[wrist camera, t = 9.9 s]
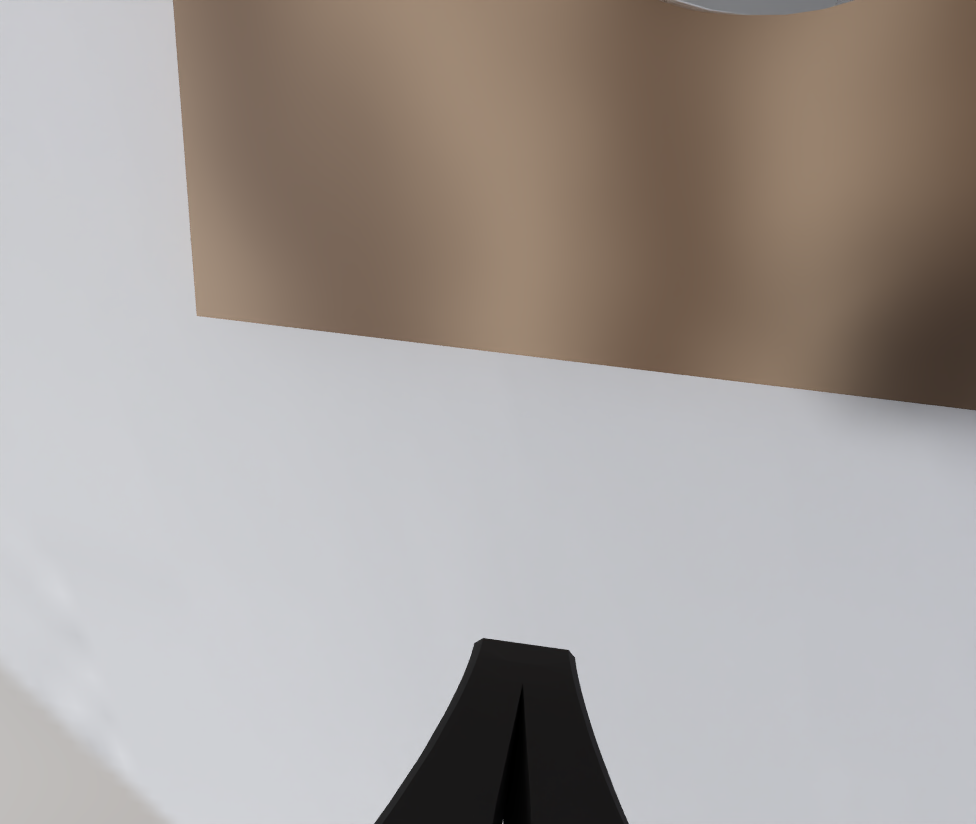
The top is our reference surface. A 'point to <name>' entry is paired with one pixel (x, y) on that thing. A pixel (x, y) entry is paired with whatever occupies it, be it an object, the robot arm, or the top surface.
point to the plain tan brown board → (596, 182)
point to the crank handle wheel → (755, 6)
